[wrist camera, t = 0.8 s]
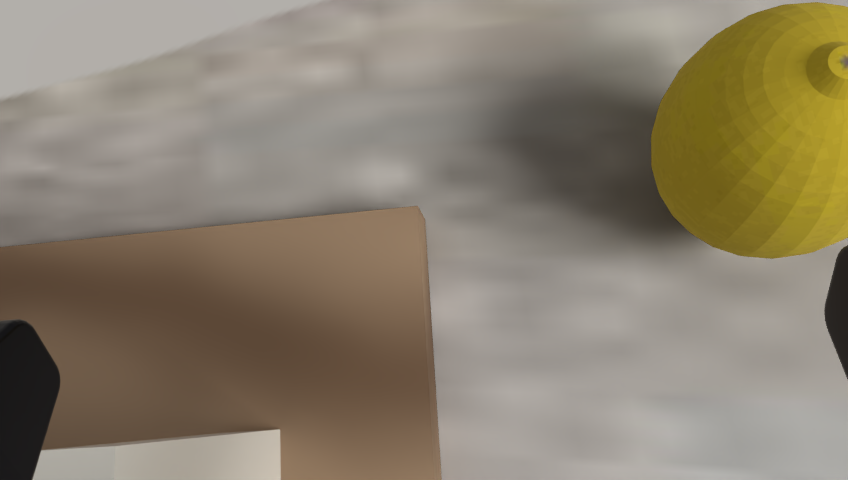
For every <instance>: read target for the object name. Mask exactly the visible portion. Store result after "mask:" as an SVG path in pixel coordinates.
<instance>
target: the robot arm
mask: <svg viewBox="0 0 848 480" xmlns="http://www.w3.org/2000/svg"><path fill="white" fill-rule="evenodd" d="M825 321H826V326H827V329H828V332H829V334H830V337H831V339H832V342H833V344H834V347H835V349H836V352H837V354H838V357H839V359H840V362H841V364H842V367H843V369H844V372H845V374H846V377H847V379H848V246H846V247H844V248H843V249H841V251H840V252H839V254H838V257H837V259H836V263H835V267H834V271H833V275H832V279H831V283H830V287H829V291H828V295H827V299H826V303H825ZM60 381H61V380H60V373H59V369H58V367H57V365H56V363H55V362H54V360H53V358H52V357H51V355H50V353H49V352H48V350H47V349H46V347H45V345H44V344H43V342H42V340H41V339H40V337H39V335H38V334H37V332H36V330H35V329H34V328H33V326H32V325H31V324H29V323H28V322H27V321H25V320H21V319H13V320H2V321H0V480H33V476H34V473H35V470H36V466H37V463H38V460H39V456H40V453H41V450H42V446H43V443H44V440H45V436H46V433H47V430H48V426H49V423H50V420H51V416H52V413H53V410H54V406H55V403H56V400H57V396H58V393H59V389H60Z"/></svg>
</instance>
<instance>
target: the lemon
mask: <svg viewBox="0 0 848 480" xmlns="http://www.w3.org/2000/svg"><path fill="white" fill-rule="evenodd" d="M651 167H652V171H653V174H654V178H655V181H656V185H657V188H658V191H659V194H660V196H661V197H662V199H663V201H664V202H665V204H666V206H667V207H668V209H669V211H670V212H671V214H672V216H673V217H675V218H676V219H677V220H678V221H679V222H680V223H681V224H682V225H683V226H684V227H685V228H686V229H687V230H688V231H689V232H690V233H691V234H693V235H694V236H696V237H698V238H699V239H701V240H703V241H704V242H706V243H707V244H709V245H711V246H712V247H715V248H718V249H721V250H724V251H727V252H730V253H733V254H736V255H740V256H747V257H759V258H781V257H788V256H794V255H801V254H807V253H811V252H814V251H817V250H819V249H822V248H824V247H827V246H829V245H832V244H834V243H836V242H839V241H841V240H844V239H846V238H848V7H845V6H840V5H833V4H825V3H818V2H815V3H801V4H787V5H781V6H777V7H774V8H771V9H767V10H764V11H760V12H757V13H754V14H752V15H749V16H747V17H745V18H744V19H742V20H740V21H738V22H737V23H735V24H733V25H731V26H730V27H728V28H726V29H724V30H723V31H721V32H720V33H718V34H716V35H715V36H714V37H713V38H711V39H710V40H709V41H708V42H707V43H706V44H705V45H704V46H703V47H702V48H701V49H700V50H699V51H698V52H697V53H696V54H695V55H694V56H693V57H691V58H690V59H689V60H688V61H687V62H686V63H685V64H684V65H683V67H682V68H681V69H680V70H679V72H678V74H677V75H676V77H675V79H674V80H673V82H672V83H671V85H670V87H669V88H668V90H667V92H666V93H665V95H664V97H663V98H662V100H661V103H660V105H659V108H658V112H657V116H656V119H655V123H654V126H653V130H652V135H651Z"/></svg>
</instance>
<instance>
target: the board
mask: <svg viewBox="0 0 848 480" xmlns="http://www.w3.org/2000/svg"><path fill="white" fill-rule="evenodd" d="M13 319H21V320H25V321H27V322H28V323H29V324H31V325H32V326H33V328H34V329H35V330H36V332H37V334H38V335H39V337H40V339H41V340H42V342H43V344H44V345H45V347H46V349H47V350H48V352H49V353H50V355H51V357H52V358H53V360H54V362H55V363H56V365H57V367H58V369H59V373H60V380H61V381H60V389H59V393H58V396H57V400H56V403H55V406H54V410H53V413H52V416H51V420H50V423H49V426H48V430H47V433H46V436H45V440H44V443H43V446H42V450H47V449H57V448H68V447H79V446H89V445H100V444H110V443H121V442H131V441H142V440H152V439H163V438H174V437H184V436H195V435H205V434H216V433H227V432H243V431H260V430H276V429H280V461H281V480H441V464H440V448H439V433H438V417H437V401H436V386H435V370H434V354H433V338H432V323H431V307H430V291H429V276H428V260H427V244H426V229H425V219H424V217H423V215H422V213H421V211H420V209H419V207H418V206H412V207H402V208H392V209H382V210H372V211H362V212H352V213H341V214H331V215H321V216H311V217H301V218H291V219H281V220H271V221H261V222H251V223H240V224H230V225H220V226H210V227H200V228H190V229H180V230H170V231H160V232H150V233H139V234H129V235H119V236H109V237H99V238H89V239H79V240H69V241H59V242H49V243H38V244H28V245H18V246H8V247H0V321H2V320H13Z"/></svg>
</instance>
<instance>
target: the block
mask: <svg viewBox="0 0 848 480" xmlns="http://www.w3.org/2000/svg"><path fill="white" fill-rule="evenodd" d="M33 480H281V461H280V429H276V430H260V431H243V432H227V433H216V434H205V435H195V436H184V437H174V438H163V439H152V440H142V441H131V442H121V443H110V444H100V445H89V446H79V447H68V448H57V449H47V450H41V453H40V456H39V460H38V463H37V466H36V470H35V473H34V476H33Z"/></svg>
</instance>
